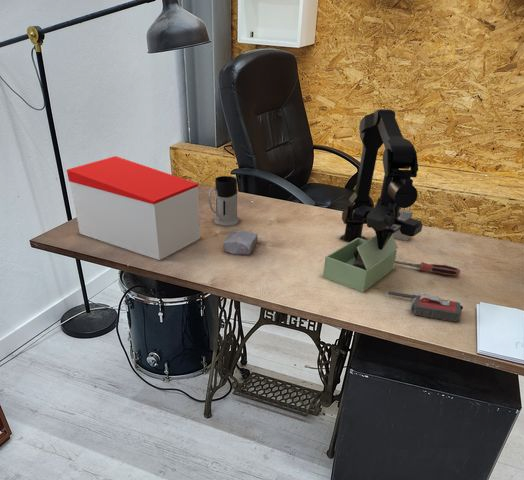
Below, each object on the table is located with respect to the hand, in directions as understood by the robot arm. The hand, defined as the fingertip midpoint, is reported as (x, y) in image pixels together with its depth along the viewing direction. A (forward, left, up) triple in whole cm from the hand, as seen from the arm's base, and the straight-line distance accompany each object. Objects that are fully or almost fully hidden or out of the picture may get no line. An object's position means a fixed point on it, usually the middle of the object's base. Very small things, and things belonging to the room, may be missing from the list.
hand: (380, 249), depth 135 cm
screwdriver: (-14, +7, -10) cm, 19 cm away
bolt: (0, -5, -9) cm, 11 cm away
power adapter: (-34, -8, -10) cm, 37 cm away
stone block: (+11, -44, -10) cm, 46 cm away
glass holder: (0, -62, -10) cm, 63 cm away
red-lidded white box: (+27, -74, -10) cm, 80 cm away
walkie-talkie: (+7, +18, -10) cm, 22 cm away
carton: (0, -5, -10) cm, 11 cm away
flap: (0, -1, 0) cm, 1 cm away
